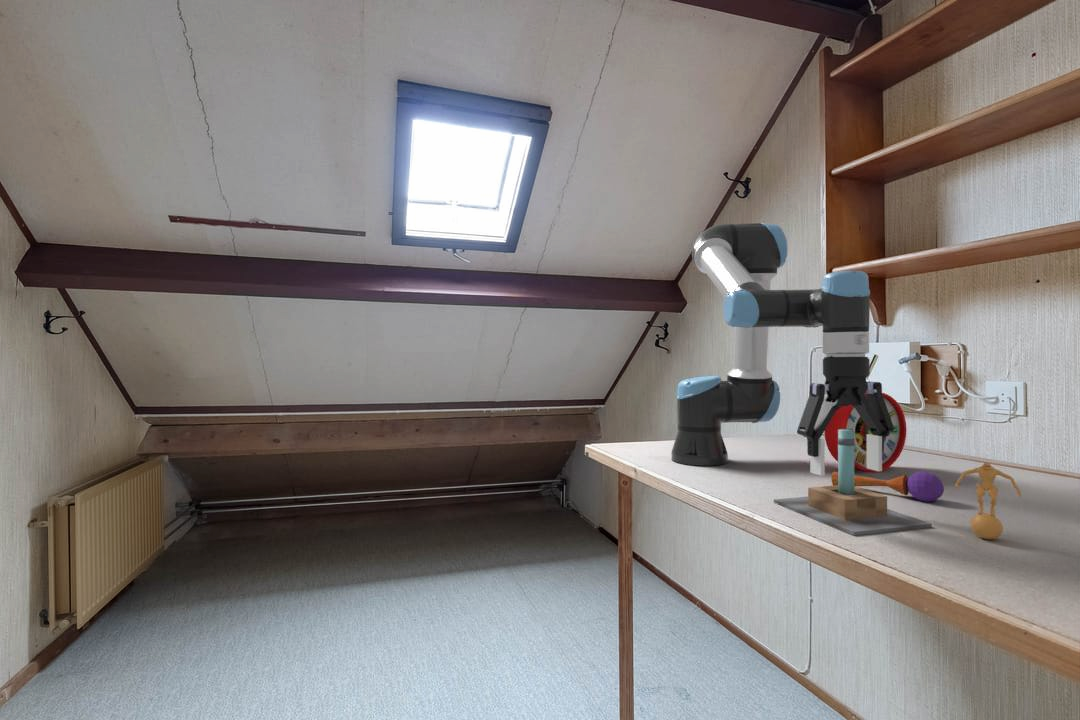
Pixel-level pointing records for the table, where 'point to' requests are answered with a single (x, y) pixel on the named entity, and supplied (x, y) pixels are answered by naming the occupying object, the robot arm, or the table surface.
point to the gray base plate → (851, 511)
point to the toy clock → (852, 421)
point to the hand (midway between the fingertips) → (846, 472)
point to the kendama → (905, 485)
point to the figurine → (988, 523)
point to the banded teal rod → (846, 461)
